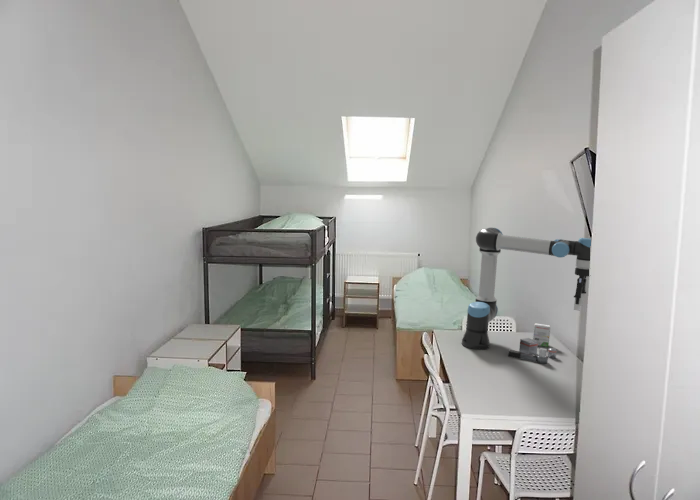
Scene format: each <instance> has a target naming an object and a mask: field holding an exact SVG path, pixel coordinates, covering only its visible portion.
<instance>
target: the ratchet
mask: <svg viewBox="0 0 700 500" xmlns="http://www.w3.org/2000/svg"><path fill="white" fill-rule="evenodd" d="M547 352H548V349H547V348H544V347H540V348H539V351H538V354H534V355H531V354H526V353H522V352H520V351H519V350H514V349H509V350H508V357H509V358H516V359H521V360H525V361H530V362H534V363H537V364H539V365H548V364H549V363H548V361H549V358H548V355H547Z"/></svg>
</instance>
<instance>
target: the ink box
mask: <svg viewBox="0 0 700 500" xmlns="http://www.w3.org/2000/svg"><path fill="white" fill-rule="evenodd" d="M533 327H534V329H533V335H532V336H533V337H532V339H533V340H535V341H538V346H539V347H546V348H549V346H550V345H549V343H550V336H551V325H549V324H543V323H537V322H536V323H534V326H533Z"/></svg>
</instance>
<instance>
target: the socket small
mask: <svg viewBox="0 0 700 500" xmlns="http://www.w3.org/2000/svg"><path fill="white" fill-rule="evenodd" d="M557 352H558V351H557V348H555V347H548V349H547V357H548V359H556V358H557Z"/></svg>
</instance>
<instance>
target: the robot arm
mask: <svg viewBox="0 0 700 500" xmlns="http://www.w3.org/2000/svg"><path fill="white" fill-rule="evenodd" d="M591 239H592V238H589V237H580V238H579V239H578V240H576V241H575V240H567V239H562V238H561V239H560V238H559V239H558V238H557V239H554V240H549V239H539V238H531V237H521V236H515V235H507V234H506V235H505V234H503V232H502V231H501V230H500V229H499V228H496V227H487V228H483V229H481V230H479V231H478V233H477V234H476V236H475V242H476V245H477V246H478V247H479V249H478V250H479V253H480V254H481V259H480V260H481V261H480V275H479V286H478V295H477V296H475V301H473V302H470V303H469V304H468V306H467V307H468V308H467V314H466V315H467V316H466V327H465V332H464V334H463V337H462V338H461V345H462V346H463V347H466V348H468V349H473V350H488V349H490V346H491V342H490V338H489V333H488V332H489V322H491V321H493V320H494V319H495V318H496V316H497V314H498V310H499V309H498V305H497V300H498V299H497V298H496V297H495V293H496V292H495V288H496V277H497V265H498V256H499V254H501V250H506V251H514V252H521V253H522V252H523V253H530V254H538V255H545V256H546V255H547V256H553V257H556V258H565V257H566V256H576V259H575V268H574V269H575V270H574V274H575V275H576V276H579V277H578V278H577V281H576V289H575V294H574V295H573V298H574V304H573V311H580V309H581V307H584V302H585V294H587V291H586V285H587V277H590V276H589V261H590V246H591Z"/></svg>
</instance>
